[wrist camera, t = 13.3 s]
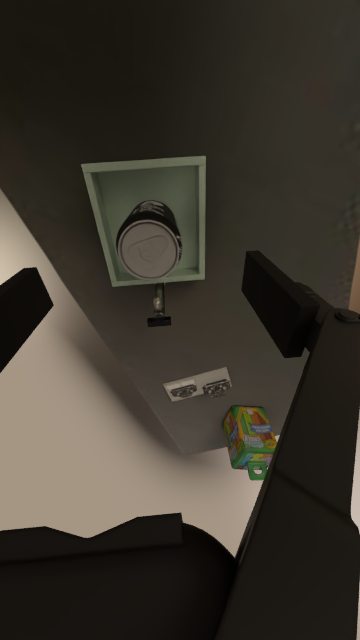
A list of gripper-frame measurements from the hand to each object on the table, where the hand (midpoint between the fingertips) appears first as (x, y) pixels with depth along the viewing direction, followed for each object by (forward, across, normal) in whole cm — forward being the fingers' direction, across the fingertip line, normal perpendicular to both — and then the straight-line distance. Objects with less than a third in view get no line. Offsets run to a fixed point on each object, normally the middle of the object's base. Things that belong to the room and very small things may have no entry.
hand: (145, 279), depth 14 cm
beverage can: (+19, 0, -1) cm, 19 cm away
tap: (+20, 0, -9) cm, 22 cm away
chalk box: (+19, +18, -51) cm, 58 cm away
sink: (+20, 0, -1) cm, 20 cm away
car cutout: (+20, +6, -36) cm, 42 cm away
